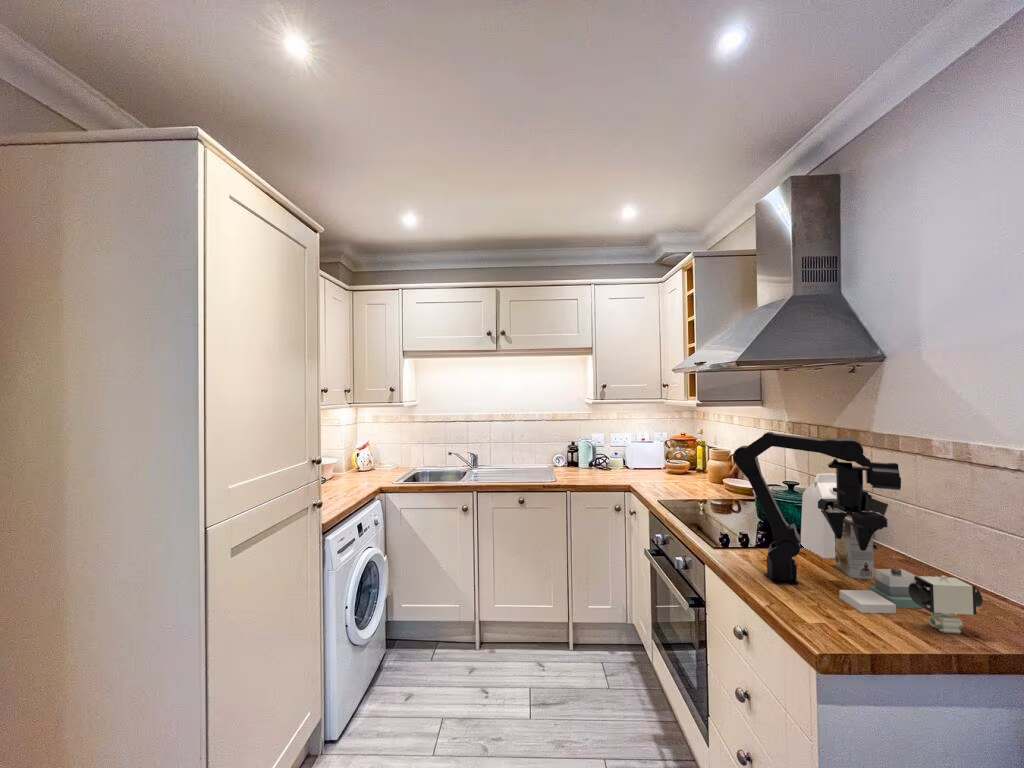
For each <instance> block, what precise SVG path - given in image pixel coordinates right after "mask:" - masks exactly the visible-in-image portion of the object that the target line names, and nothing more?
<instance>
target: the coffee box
mask: <svg viewBox="0 0 1024 768" xmlns="http://www.w3.org/2000/svg"><path fill="white" fill-rule="evenodd" d="M852 524H855V523H854V522H853V520H852V516H850V515H847V516H846V517H845V518H844V521H843V533H842V539H837V538H836V536H835V558H834V559H835V560H834V561H835V567H836V568H837V569H838V570H840V571H841V572H842V573H843V574H845V575H846V576H848V577H849V578H851V579H865V580H875V567H874V534H873V535H872V537H871V539H870V542H869V544H868V546H867V548H866V550H865V551H862V550H860V548H859V545H858V542H857V539H856V536H855V533H854V529H853V526H852Z"/></svg>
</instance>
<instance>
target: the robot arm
mask: <svg viewBox="0 0 1024 768" xmlns="http://www.w3.org/2000/svg"><path fill="white" fill-rule="evenodd" d="M772 447H774V448H783V449H790V450H797V451H802V452H803V451H805V452H811V453H819V454H823V455H825V456H827V457H828V456H829V457H832V458H834V459H833V460H832V461H830V462H828V464H827V468H829V469H835V472H836V473H835V474H836V486H837V488H833V491H834V492H837V499H820V500H819V501H818V508H819V509H821V512H822V513H823V515H824V516H825V518H826V520H827V521H828V523H829V525H830V527H831V528H832V530H833V532H834V534H835V536H836V538H837V539H842V533H843V521H844V518H845V517H846V516H847V515H850V516H852V520H853V522H854V523H855V524H852V526H853V529H854V533H855V536H856V539H857V542H858V545H859V548H860V550H862V551H865V550H866V548H867V546H868V544H869V542H870V539H871V537H872V535H873V536H874V533H876V532H877V531H878V530H883V529H884V528H888V526H889V525H888V524H889V522H888V518H887V517H886V516H885V515H886V512H887V510H888V507H889V503H886V502H883V501H880V500H877V499H874V498H873V497H872V495H871V494H869V493H868V490H867V491H866V490H864V475H865V484H869V485H870V486H871V487H870V488H872V489H882V490H895V491H901V488H902V478H901V475H900V470H899V464H898V463H897V462H886V463H885V462H875V461H872V462H871V459H870V458H868V457H866V456H865V454H864V448H863V446H862V445H861V443H859V442H858V441H857V440H856V439H854V438H849V437H836V438H835V437H834V438H833V437H831V438H816V437H809V436H808V437H807V436H800V435H793V434H792V435H790V434H784V433H776V432H773V431H767V432H765V433H763V435H761V436H760V437H759V438H758V439H756V440H755V441H753V442H751V443H750V444H748V445H741V446H739V447H737V448H736V449H735V450H734V451H733V454H732V460H733V462H734V463H735V465H736V466H737V467H738V469H739V471H741V473H742V474H743V475H744V476H745V477H746V478H747V480H748V481H749V484H750V486H751V488H752V490H753V492H754V495H755V496H756V498H757V500H758V502H759V504H760V506H761V508H762V510H763V512H764V514H765V517H766V519H767V520H768V523H769V524H770V528H771V533H772V536H773V537H772V538H773V542H772V543H770V544H769V546H768V551H767V555H766V572H764V573H763V574H764V576H765V577H766V578H768V579H769V580H770V581H771V582H772V583H774V584H777V585H779V584H780V585H799V581H798V580H797V579H798V574H797V573H798V571H797V568H798V566H797V564H796V560H795V559H794V557H796V556H798V555H799V553H800V551H801V546H800V543H801V534H799V532H798V530H797V527H796V524H795V522H794V523H792V524H790V523H788V522H787V521H786V519H785V518H784V516H783V513H782V511H781V510H780V508H779V506H778V504H777V502H776V500H775V498H774V496H773V494H772V492H771V490H770V488H769V485H768V484H767V482H766V480H765V478H764V476H763V474H762V473H763V472H762V470H761V465H760V460H759V457H758V456H760V455H761V454H763V453H764V452H765V451H767V450H769V449H770V448H772ZM837 459H839V460H841V461H838V460H837ZM845 461H846V462H845ZM852 462H854V463H856V464H857V466H855V465H853V463H852ZM858 465H860V466H858ZM864 471H865V474H864ZM853 512H854V513H853Z"/></svg>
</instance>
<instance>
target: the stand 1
mask: <svg viewBox="0 0 1024 768" xmlns="http://www.w3.org/2000/svg"><path fill="white" fill-rule="evenodd" d="M838 593H839V594H838V595H839V599H841V600H842V601H843V602H845V603H847V604H848V605H850V606H851V607H853V608H854V609H855V610H856V611H859V613H866V614H897V608H896V605H895V604H893V603H892V602H890V601H888V600H887V599H885V598H883V597H882V596H880V595H878V594H877V593H875V592H873V591H871V590H869V589H868V590H866V589H865V590H861V589H857V590H856V589H855V590H854V589H839V591H838Z"/></svg>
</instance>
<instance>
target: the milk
mask: <svg viewBox="0 0 1024 768" xmlns="http://www.w3.org/2000/svg"><path fill="white" fill-rule="evenodd" d="M833 488H837V486H836V473H816V475H815V479H814V482H812V483H811V484H810V485H809V486H808V487H807V488H806V489H805V490H804V491H803V493H802V498H801V499H802V500H801V520H800V521H801V523H800V525H801V526H800V536H801V543H800V544H801V545H802V546H803V547H804V548H803V547H802V548H803V549H805V548H806V549H805V550H807V549H808V550H807V551H809V550H810V551H811V553H812V552H813V553H812V554H814V553H815V554H814V555H816V554H817V555H816V556H818V555H819V556H818V557H820V558H822V559H835V534H834V532H833V530H832V528H831V527H830V525H829V523H828V521H827V520H826V518H825V516H824V515H823V513H822V512H821V509H819V508H818V501H819V500H820V499H837V492H834V491H833ZM853 513H854V512H853ZM810 551H809V552H810Z"/></svg>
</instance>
